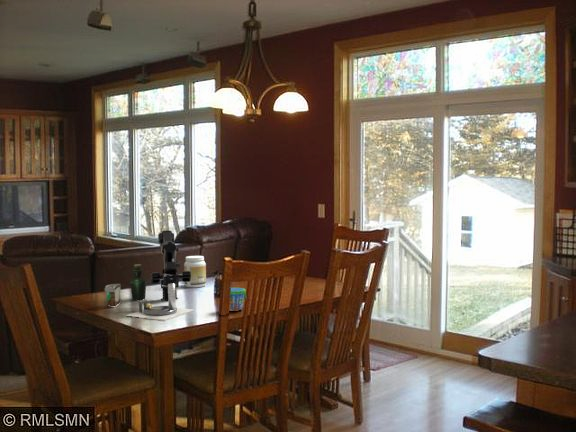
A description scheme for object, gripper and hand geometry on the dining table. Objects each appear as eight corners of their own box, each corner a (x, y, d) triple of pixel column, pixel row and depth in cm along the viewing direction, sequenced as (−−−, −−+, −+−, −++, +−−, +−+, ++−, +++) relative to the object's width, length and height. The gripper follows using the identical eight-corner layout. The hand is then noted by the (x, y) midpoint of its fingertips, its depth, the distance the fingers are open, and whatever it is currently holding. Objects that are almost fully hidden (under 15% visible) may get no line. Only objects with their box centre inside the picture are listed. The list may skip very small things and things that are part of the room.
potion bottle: (139, 297, 339) (138, 263, 338) (150, 298, 335) (149, 264, 334) (127, 299, 333) (126, 265, 331) (138, 301, 328) (137, 266, 327)
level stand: (126, 316, 294) (125, 305, 294) (156, 307, 314) (155, 296, 313) (165, 320, 284) (164, 308, 284) (193, 310, 304) (193, 299, 304)
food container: (108, 303, 325) (108, 283, 324) (121, 303, 325) (120, 283, 324) (102, 308, 312) (101, 288, 312) (114, 308, 312) (114, 287, 312)
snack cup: (238, 306, 313) (237, 285, 312) (254, 309, 306) (253, 287, 305) (214, 312, 301) (214, 290, 300) (230, 315, 294) (230, 292, 294)
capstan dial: (139, 311, 301) (138, 282, 300) (169, 306, 309) (168, 279, 308) (151, 316, 289) (150, 287, 288) (182, 312, 297) (181, 284, 296)
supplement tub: (210, 285, 373) (209, 256, 372) (197, 288, 362) (196, 258, 361) (193, 283, 379) (193, 254, 378) (180, 286, 369) (179, 257, 368)
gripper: (150, 256, 308) (152, 282, 298) (190, 254, 313) (192, 280, 303) (150, 269, 316) (152, 296, 307) (189, 268, 321) (191, 294, 311)
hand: (172, 291), depth 307 cm, fingers closed
